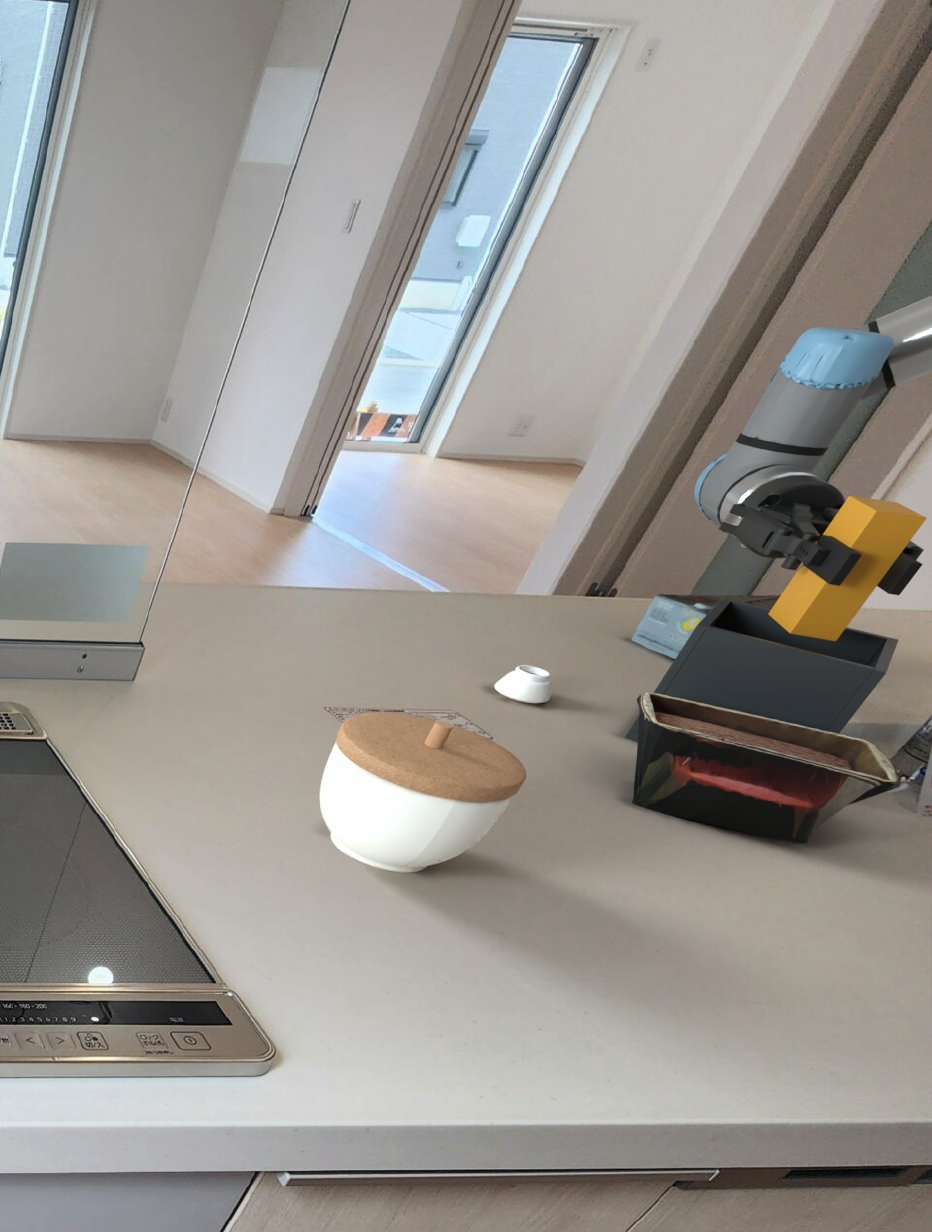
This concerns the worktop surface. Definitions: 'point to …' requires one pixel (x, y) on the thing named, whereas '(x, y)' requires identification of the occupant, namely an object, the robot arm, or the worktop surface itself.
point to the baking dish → (750, 769)
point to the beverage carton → (682, 619)
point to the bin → (775, 669)
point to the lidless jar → (526, 685)
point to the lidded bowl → (413, 790)
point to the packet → (831, 607)
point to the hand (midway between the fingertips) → (875, 574)
